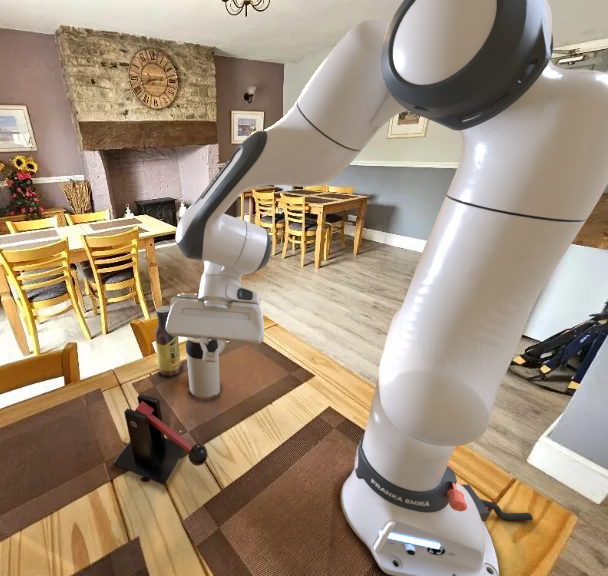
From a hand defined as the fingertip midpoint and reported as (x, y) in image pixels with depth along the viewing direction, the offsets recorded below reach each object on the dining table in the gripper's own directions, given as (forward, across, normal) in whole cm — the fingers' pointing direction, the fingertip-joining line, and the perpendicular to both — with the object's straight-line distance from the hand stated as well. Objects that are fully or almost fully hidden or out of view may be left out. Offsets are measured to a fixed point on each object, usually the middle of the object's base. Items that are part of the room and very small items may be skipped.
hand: (210, 361), depth 61 cm
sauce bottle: (+1, -18, +28) cm, 33 cm away
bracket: (+20, -12, +8) cm, 25 cm away
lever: (+15, -7, +2) cm, 17 cm away
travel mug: (+5, -6, +24) cm, 25 cm away
